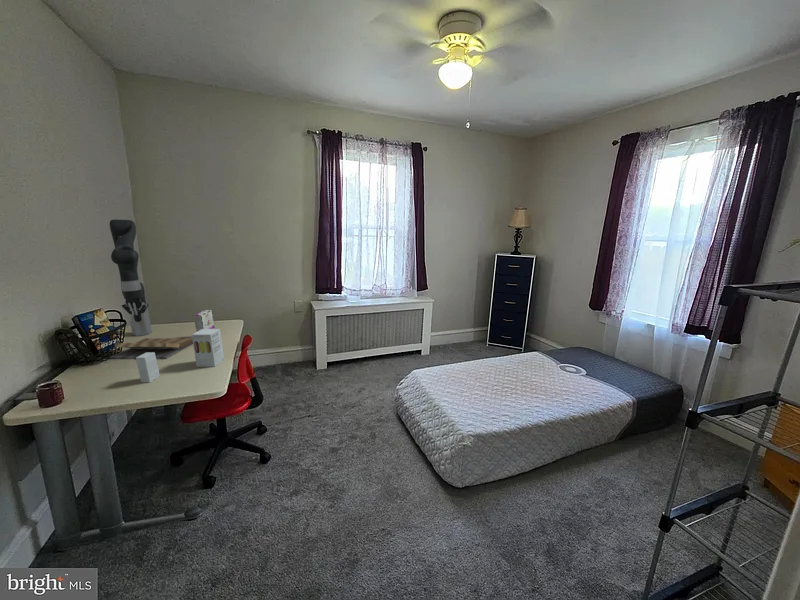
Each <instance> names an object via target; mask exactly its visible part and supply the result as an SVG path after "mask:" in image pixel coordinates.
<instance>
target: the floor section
mask: <svg viewBox="0 0 800 600" xmlns="http://www.w3.org/2000/svg"><path fill="white" fill-rule="evenodd" d="M135 343H172V344H180V346H179V348H126V349H125V350H123V351H121V352H119V353H116V354H113V355H112V356H109V357H110V360H117V359H118V360H122V359H123V360H136V357H138V356H140V355H142V354H144V353H146V352H155V356H156V360H167V359H168V358H170V357H172V356H174V355H176V354H177V353H179V352H181V351H182V350H185V349H188V347H190V346H192V345H193V339H192V337H191V338H188V337H187V338H186V337H185V338H181V337H180V338H179V337H178V338H177V337H176V338H170V337H167V338H161V337H160V338H157V337H156V338H152V337H151V338H143V339H141V340H139V341H137V342H135Z"/></svg>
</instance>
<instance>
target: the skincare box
mask: <svg viewBox="0 0 800 600" xmlns="http://www.w3.org/2000/svg"><path fill="white" fill-rule="evenodd" d="M135 360H136V365H137V368H138V373H139V374H138V375H139V378H140V381H141V383H151V382H153V381H155V380H156V379H158V378H160V376H161V375H160V372H159V366H158V363H157V362H158V361H157V359H156V356H155V352H146V353H144V354H142V355H140V356H138V357H136V359H135ZM154 379H155V380H154Z"/></svg>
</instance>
